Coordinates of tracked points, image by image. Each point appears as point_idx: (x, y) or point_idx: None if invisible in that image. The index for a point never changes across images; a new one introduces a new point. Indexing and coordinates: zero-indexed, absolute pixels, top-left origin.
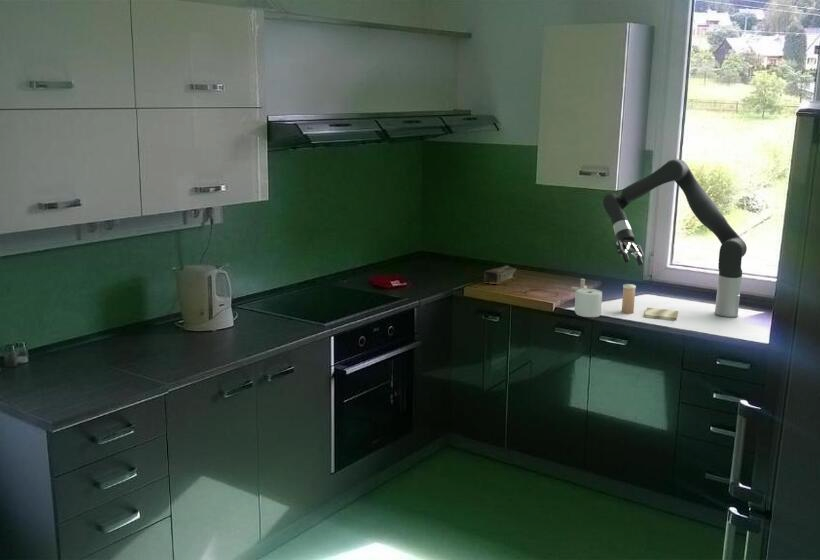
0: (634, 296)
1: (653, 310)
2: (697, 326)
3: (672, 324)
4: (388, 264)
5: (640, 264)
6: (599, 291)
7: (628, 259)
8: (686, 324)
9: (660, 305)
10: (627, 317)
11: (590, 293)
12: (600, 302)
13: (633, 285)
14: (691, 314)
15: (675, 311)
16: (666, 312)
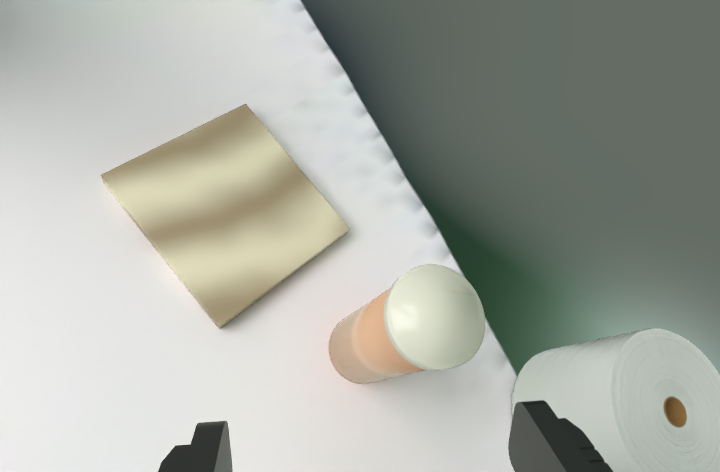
0: (382, 293)
1: (241, 256)
2: (230, 14)
3: (309, 91)
4: None
5: (229, 449)
6: (622, 389)
7: (549, 408)
8: (250, 55)
9: (9, 381)
10: None
11: (681, 378)
12: (589, 344)
13: (410, 300)
14: (44, 128)
15: (133, 174)
16: (204, 189)
